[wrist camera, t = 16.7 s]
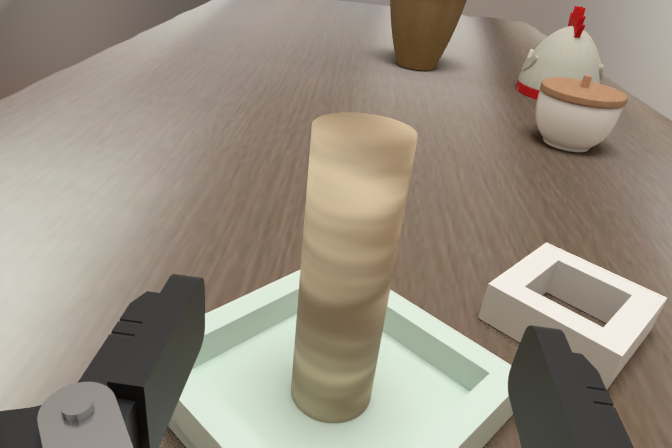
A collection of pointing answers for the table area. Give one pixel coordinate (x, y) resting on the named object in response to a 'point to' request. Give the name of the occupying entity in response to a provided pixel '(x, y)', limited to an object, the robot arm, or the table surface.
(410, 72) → the table surface
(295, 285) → the tray
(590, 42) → the chicken shaped dome
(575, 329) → the holder block
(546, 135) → the lidded jar
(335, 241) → the dowel
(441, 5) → the plant pot
